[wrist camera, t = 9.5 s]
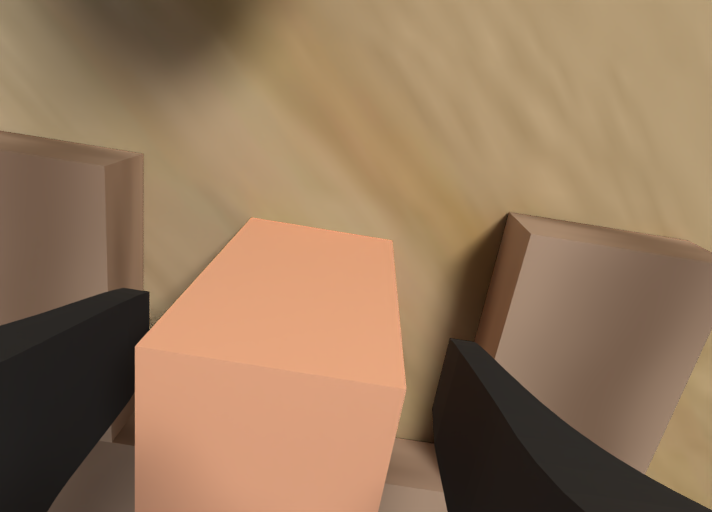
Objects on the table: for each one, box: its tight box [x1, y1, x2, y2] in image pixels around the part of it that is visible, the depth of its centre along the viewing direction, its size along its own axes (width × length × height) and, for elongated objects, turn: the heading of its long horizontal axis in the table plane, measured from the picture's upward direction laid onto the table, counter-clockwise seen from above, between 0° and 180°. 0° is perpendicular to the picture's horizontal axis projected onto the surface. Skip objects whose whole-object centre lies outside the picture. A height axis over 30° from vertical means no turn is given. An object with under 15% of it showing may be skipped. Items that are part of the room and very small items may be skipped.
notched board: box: [0, 131, 712, 512], centre depth 14 cm, size 20×12×2 cm, turn 81°
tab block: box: [135, 217, 406, 512], centre depth 11 cm, size 4×4×7 cm
